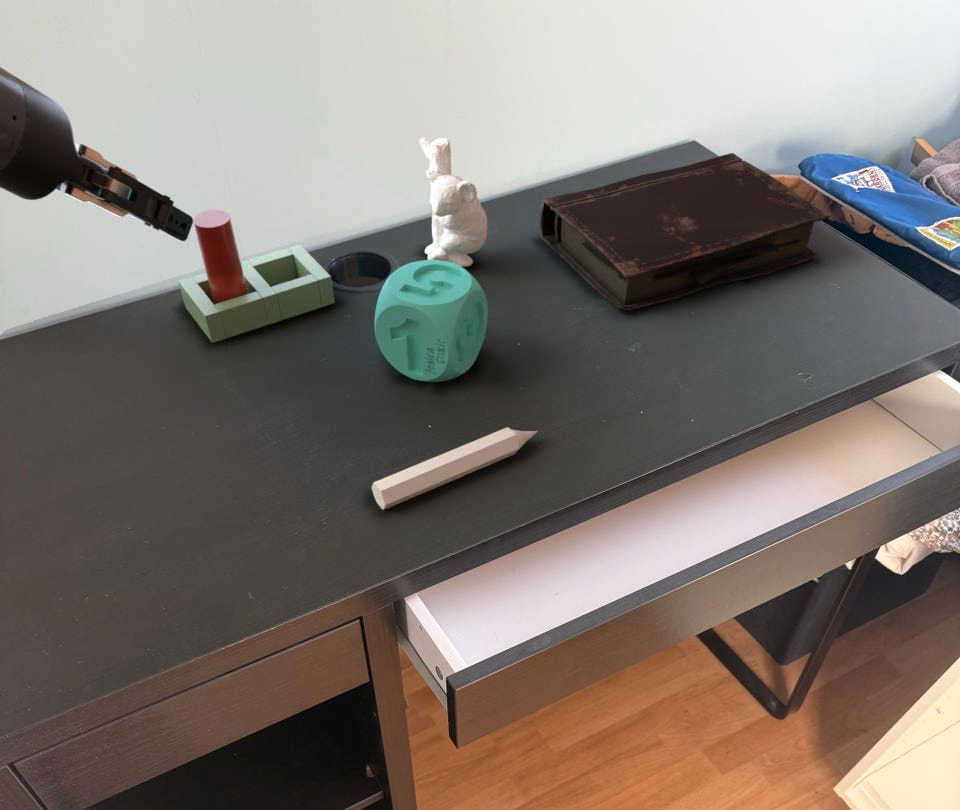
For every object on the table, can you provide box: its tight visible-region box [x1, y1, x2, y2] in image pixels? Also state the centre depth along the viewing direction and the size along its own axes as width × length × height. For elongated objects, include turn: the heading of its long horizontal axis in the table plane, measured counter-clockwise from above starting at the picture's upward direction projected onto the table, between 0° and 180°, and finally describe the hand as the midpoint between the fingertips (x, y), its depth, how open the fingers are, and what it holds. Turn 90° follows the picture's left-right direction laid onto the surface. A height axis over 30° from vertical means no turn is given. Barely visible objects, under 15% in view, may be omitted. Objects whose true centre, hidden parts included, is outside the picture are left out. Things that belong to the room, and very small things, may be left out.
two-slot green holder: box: [177, 244, 336, 344], centre depth 92 cm, size 14×8×3 cm, turn 122°
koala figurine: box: [418, 136, 489, 268], centre depth 94 cm, size 8×7×12 cm
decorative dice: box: [373, 259, 489, 383], centre depth 84 cm, size 8×8×8 cm
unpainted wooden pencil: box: [370, 426, 539, 511], centre depth 77 cm, size 3×2×16 cm
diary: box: [539, 152, 830, 311], centre depth 98 cm, size 19×25×5 cm
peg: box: [192, 208, 248, 305], centre depth 88 cm, size 4×4×10 cm
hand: (154, 214), depth 80 cm, fingers open, 8 cm apart
